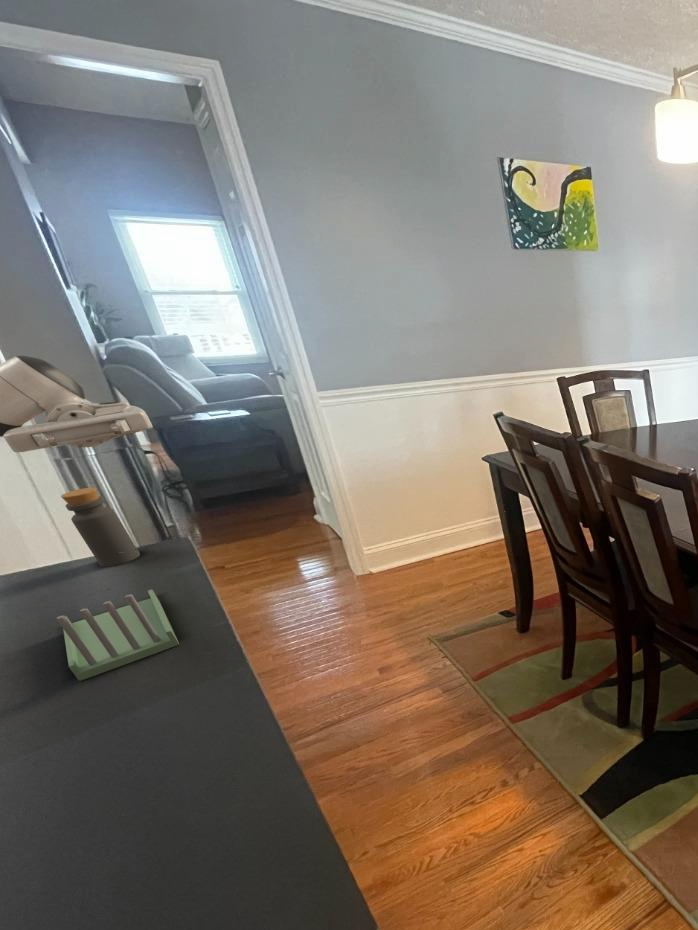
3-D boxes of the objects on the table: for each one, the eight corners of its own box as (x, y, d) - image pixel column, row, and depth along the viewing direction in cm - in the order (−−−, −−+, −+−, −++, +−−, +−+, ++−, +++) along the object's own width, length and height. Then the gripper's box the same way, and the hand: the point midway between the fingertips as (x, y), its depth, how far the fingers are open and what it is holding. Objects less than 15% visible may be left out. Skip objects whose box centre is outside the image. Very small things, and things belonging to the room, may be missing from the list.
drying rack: (79, 681, 83) (39, 627, 79) (70, 631, 95) (35, 581, 91) (179, 644, 91) (148, 593, 86) (159, 602, 103) (131, 555, 98)
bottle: (94, 569, 115) (47, 497, 108) (128, 555, 120) (86, 485, 113) (116, 571, 114) (70, 498, 107) (149, 557, 119) (108, 487, 112)
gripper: (-5, 421, 114) (-7, 432, 106) (136, 399, 127) (144, 407, 119) (16, 453, 117) (16, 466, 109) (151, 428, 130) (161, 438, 122)
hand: (84, 435), depth 114 cm, fingers open, 8 cm apart
